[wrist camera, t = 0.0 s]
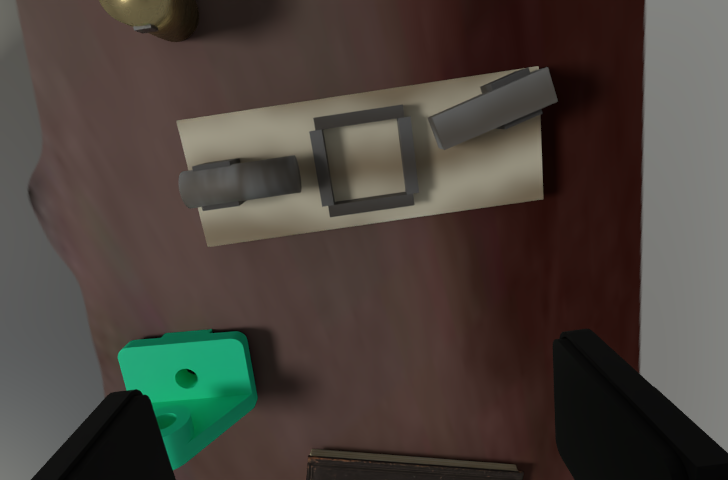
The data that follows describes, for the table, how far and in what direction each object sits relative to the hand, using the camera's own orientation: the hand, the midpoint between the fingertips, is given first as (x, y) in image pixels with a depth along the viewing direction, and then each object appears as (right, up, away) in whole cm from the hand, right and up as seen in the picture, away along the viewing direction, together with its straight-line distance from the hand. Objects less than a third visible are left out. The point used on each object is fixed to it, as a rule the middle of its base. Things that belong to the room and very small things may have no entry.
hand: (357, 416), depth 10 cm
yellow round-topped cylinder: (-16, +23, +26) cm, 38 cm away
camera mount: (-17, -9, +35) cm, 40 cm away
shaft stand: (0, +11, +29) cm, 31 cm away
